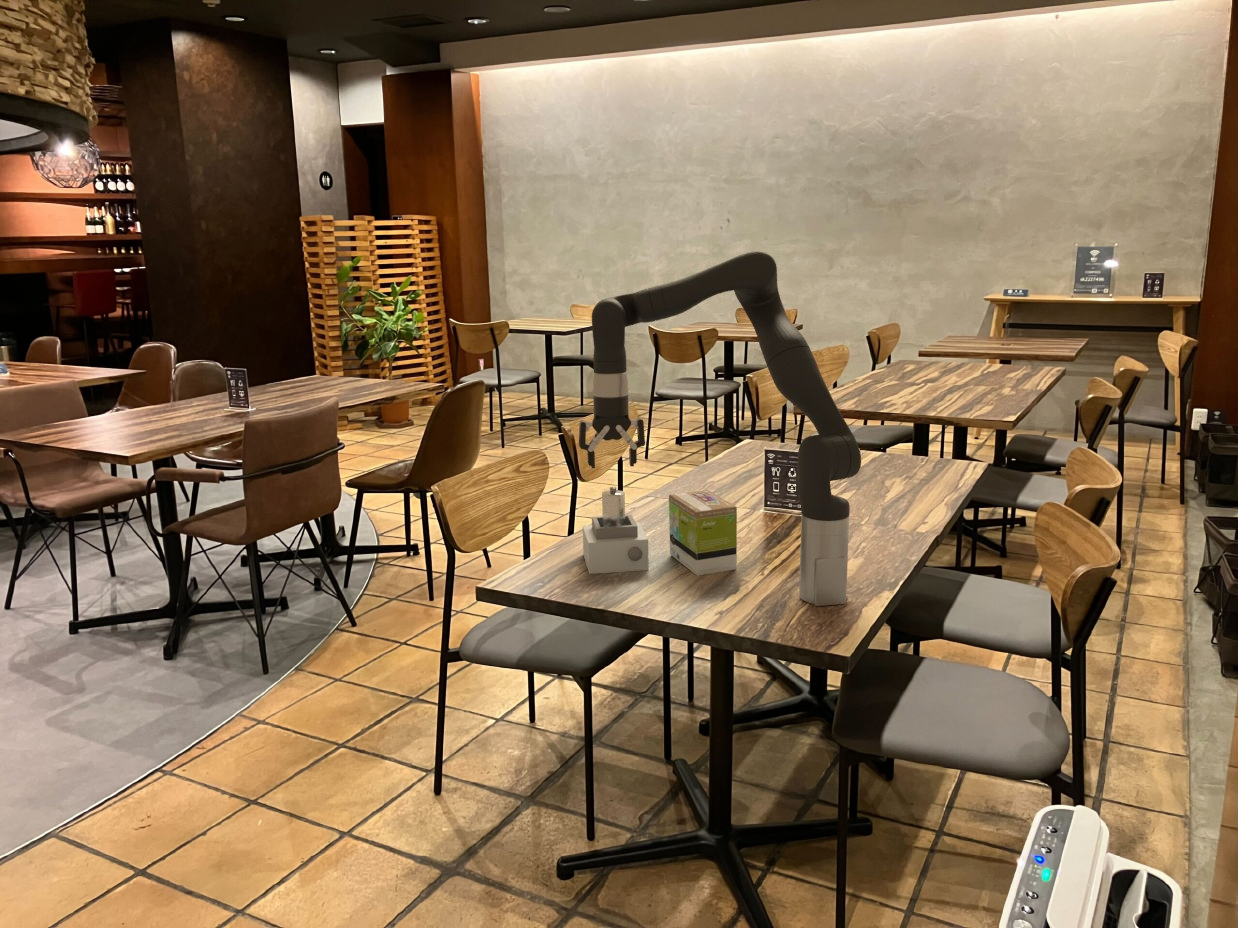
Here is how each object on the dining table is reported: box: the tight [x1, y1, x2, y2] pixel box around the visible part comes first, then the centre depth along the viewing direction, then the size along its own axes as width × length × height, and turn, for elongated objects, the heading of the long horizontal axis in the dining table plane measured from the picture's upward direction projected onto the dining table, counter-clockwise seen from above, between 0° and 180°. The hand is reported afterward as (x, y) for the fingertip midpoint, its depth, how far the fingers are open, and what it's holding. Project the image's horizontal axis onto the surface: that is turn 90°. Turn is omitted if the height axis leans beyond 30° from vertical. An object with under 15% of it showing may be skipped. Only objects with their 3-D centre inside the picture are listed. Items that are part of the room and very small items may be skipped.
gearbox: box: [582, 514, 650, 575], centre depth 216 cm, size 14×13×10 cm
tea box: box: [668, 489, 738, 576], centre depth 214 cm, size 15×10×15 cm, turn 21°
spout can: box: [601, 486, 626, 527], centre depth 215 cm, size 5×5×10 cm
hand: (612, 466), depth 212 cm, fingers open, 8 cm apart
